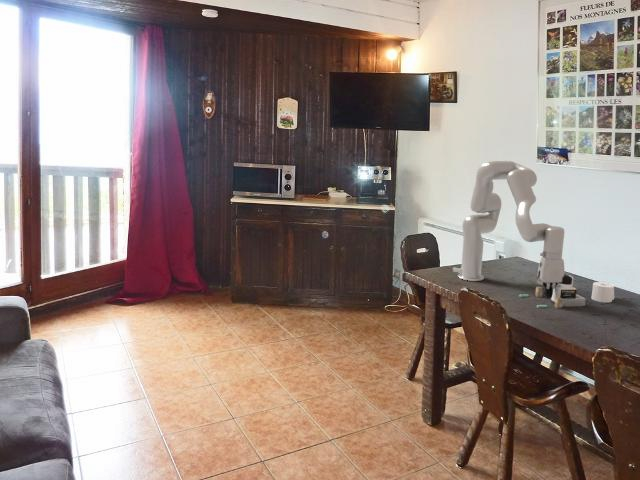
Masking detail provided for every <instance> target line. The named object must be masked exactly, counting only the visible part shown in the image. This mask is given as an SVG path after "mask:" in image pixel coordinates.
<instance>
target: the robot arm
mask: <svg viewBox="0 0 640 480" xmlns="http://www.w3.org/2000/svg"><path fill="white" fill-rule="evenodd" d="M475 177H476V178H475V184H474V188H473V191H472V196H471V200H470V209H471V211H472V212H473V213H476V214H472V215H468V216H466V217H465V218H463V220H462V221H463V222H462V234H463V240H462V241H463V242H462V255H461V267H455V266H454V267H452V271H453V272H454V273H458V274H457V276H458V277H459V278H458V277H457V278H458V279H459V280H462V279H463V280H464V281H467V280H468V281H469V282H480V281H483V280H484V279H485V277H484V275H483V274H482V266H483V265H482V264H483V254H484V238H483V236H482V234H489V233H491V232H493V231H494V230H495V229H496V227H497V225H498V220H499V216H500V212H501V210H502V199H501V197H500V196H499V194H498V193H495V192H493V191H494V180H506V182H507V185H508V187H509V190H510V192H511V194H512V197H513V199H514V202H515V205H516V211H515V224H516V227H517V229H518V231H519V234H520V236H521V238H522V239H523V240H524V241H525V242H527V243H535V242H543V250H542V252H540V253H539V255H540V257H541V258H540V261H539V263H538V267H537V268H538V269H537V274H536V275H537V277H536V278H537V281H536V284H538V285H541V286H542V287H543V288H544V291H543V293H544V294H543V295H545V297H544V298H547V299H551V298H552V295H553V289H554V288H555V287H556V286H557V285H558V283H560V282H562V277H564V274H565V262H564V259H563V249H564V241H565V240H564V239H565V229H564V227H562V226H556V225H555V226H554V225H550V224H547V223H543V222H542V223H533V221H532V219H531V216H530V210H531V208H532V206H533V205H534V204H535V203H536V201H537V197H536V195H535V193H534V190H533V188H532V187H534V186H535V185H536V184H537V182H538V181H537V180H538V179H537V178H538V177H537V174H536V173H535V171H534V170H532V169H531V168H529V167H526V166H524V165H521V164H520V163H517V162H514V161H511V160H491V161H486V162H484V163H481V165H479V167H478V169H477V171H476V176H475Z"/></svg>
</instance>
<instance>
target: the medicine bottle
mask: <svg viewBox="0 0 640 480" xmlns="http://www.w3.org/2000/svg"><path fill="white" fill-rule="evenodd" d="M573 284H574V277H573V275H569V274H565V273H564V277H562V282H560V283H558V285H557V286H556V287H555V288H554V289H553V295H552V298H550V300H551V301H552V302H554V303H555V297H560V298H576V294H577V292H578V291H577V290H578V289H577V288H576V287H574V286H573Z"/></svg>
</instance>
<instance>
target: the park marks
mask: <svg viewBox="0 0 640 480" xmlns="http://www.w3.org/2000/svg"><path fill="white" fill-rule="evenodd" d="M519 297H520V298H528V297H530V295H529V294H519ZM536 308H538V309H539V308H542V309H543V308H548V306H547V304H537V305H536Z"/></svg>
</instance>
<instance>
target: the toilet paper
mask: <svg viewBox="0 0 640 480" xmlns="http://www.w3.org/2000/svg"><path fill="white" fill-rule="evenodd" d="M591 291H592V292H591V300H592V301H595V302H599V303H605V304H606V303H612V302H613V301H614V299H615V284H614V283H608V282H601V281H600V282H599V281H595V282H593V283H592V290H591ZM612 300H613V301H612Z"/></svg>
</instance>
